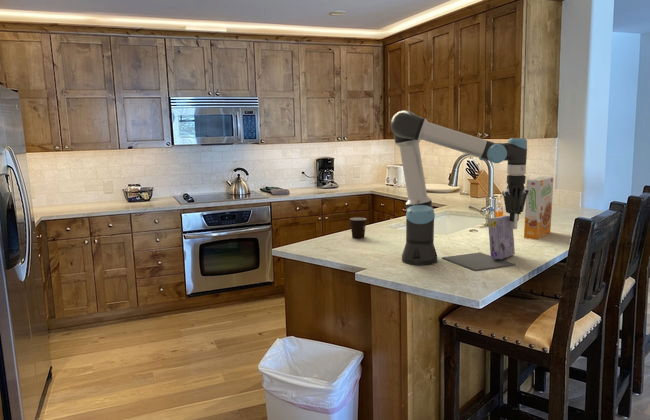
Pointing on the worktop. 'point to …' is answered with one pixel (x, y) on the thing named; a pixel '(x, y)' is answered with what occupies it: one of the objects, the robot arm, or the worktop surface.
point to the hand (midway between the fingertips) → (513, 228)
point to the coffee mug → (358, 227)
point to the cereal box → (538, 207)
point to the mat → (477, 261)
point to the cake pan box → (501, 237)
